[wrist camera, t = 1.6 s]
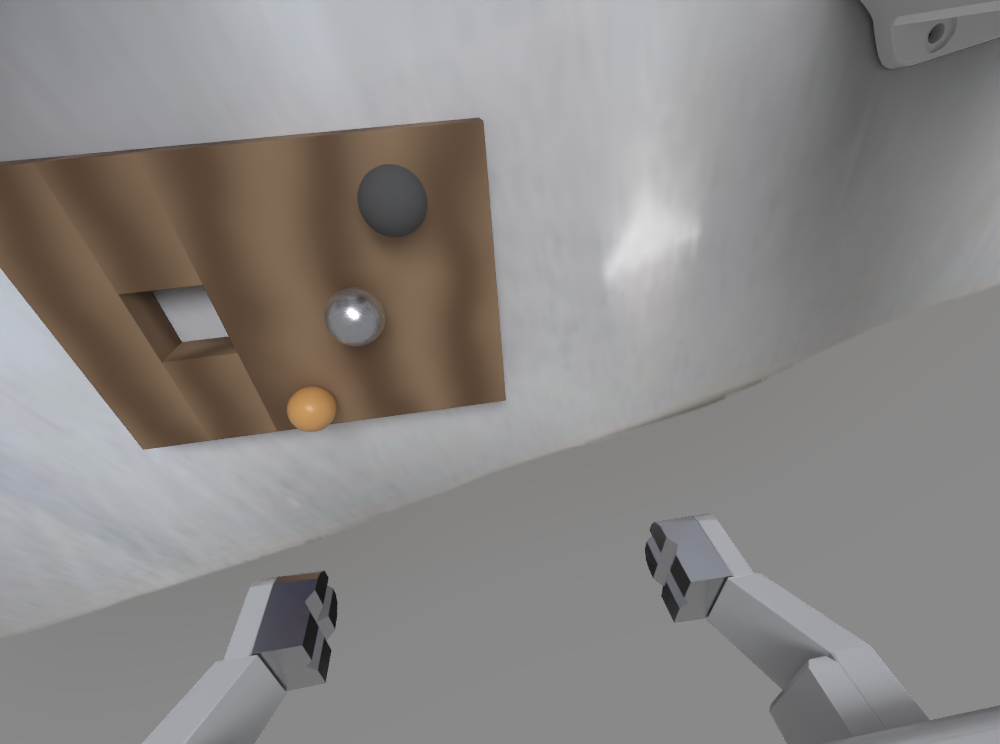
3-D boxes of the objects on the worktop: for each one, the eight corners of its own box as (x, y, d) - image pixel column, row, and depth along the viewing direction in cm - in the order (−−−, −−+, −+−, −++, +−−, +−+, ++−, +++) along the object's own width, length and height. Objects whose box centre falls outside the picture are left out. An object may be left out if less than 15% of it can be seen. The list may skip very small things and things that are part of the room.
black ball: (422, 156, 22) (420, 166, 19) (432, 223, 23) (432, 242, 21) (355, 162, 21) (343, 174, 19) (371, 230, 23) (362, 250, 20)
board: (479, 117, 23) (483, 120, 21) (501, 381, 33) (505, 400, 31) (-26, 164, 21) (-75, 172, 19) (161, 426, 32) (143, 449, 30)
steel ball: (380, 274, 25) (373, 298, 22) (393, 325, 27) (388, 353, 24) (322, 281, 25) (308, 306, 22) (339, 331, 26) (327, 361, 24)
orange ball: (332, 374, 28) (323, 402, 26) (345, 408, 30) (337, 437, 27) (287, 380, 28) (273, 408, 26) (302, 414, 30) (290, 444, 27)
